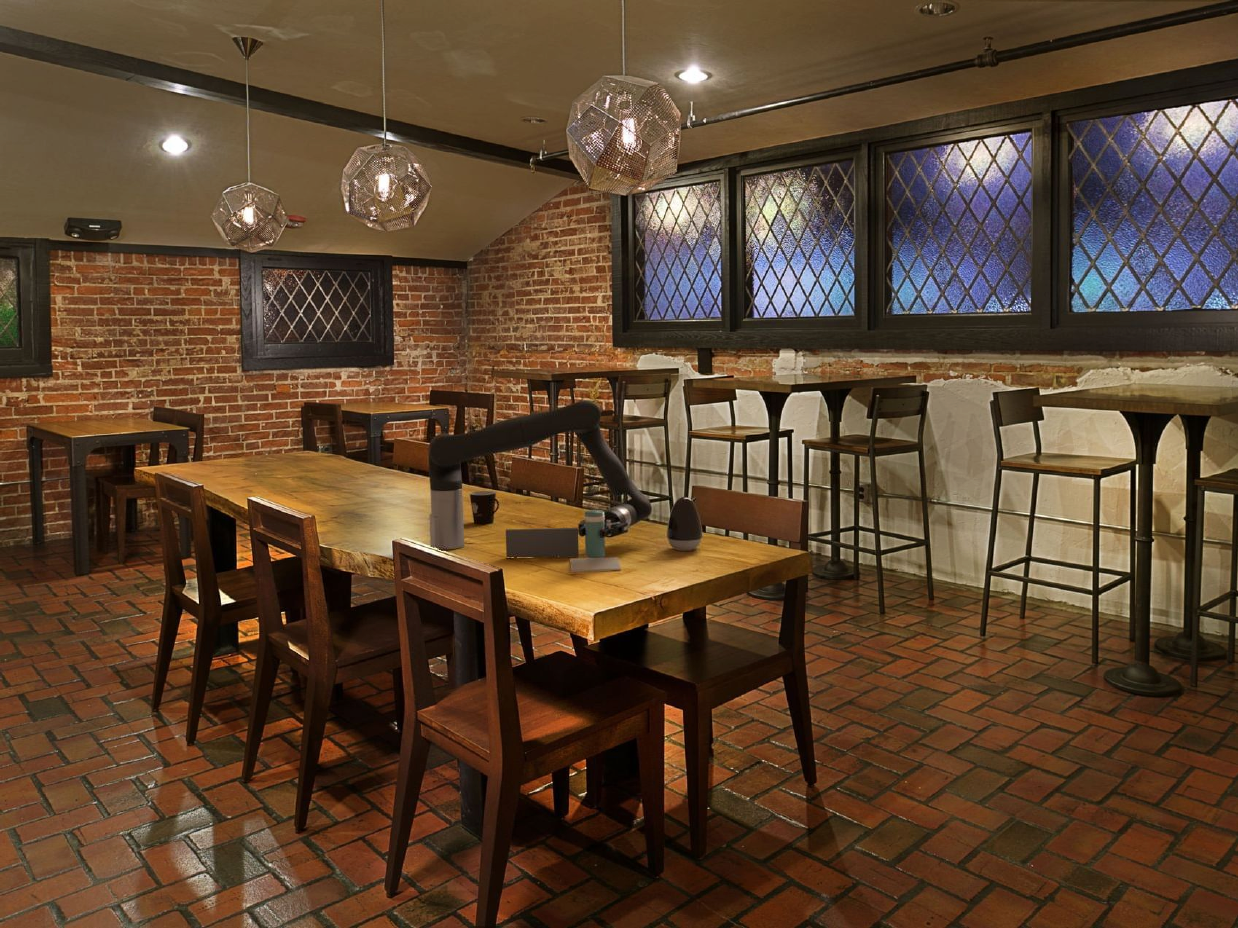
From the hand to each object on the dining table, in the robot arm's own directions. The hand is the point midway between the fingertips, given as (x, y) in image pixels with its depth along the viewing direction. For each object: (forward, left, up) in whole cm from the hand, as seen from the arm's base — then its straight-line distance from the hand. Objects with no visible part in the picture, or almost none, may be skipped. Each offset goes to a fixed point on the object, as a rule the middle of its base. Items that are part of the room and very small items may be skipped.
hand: (591, 533), depth 262 cm
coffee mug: (-7, +74, -9) cm, 75 cm away
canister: (+2, +2, -7) cm, 7 cm away
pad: (+2, +2, -9) cm, 10 cm away
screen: (-7, +18, -9) cm, 21 cm away
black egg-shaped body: (+33, +9, -9) cm, 35 cm away
